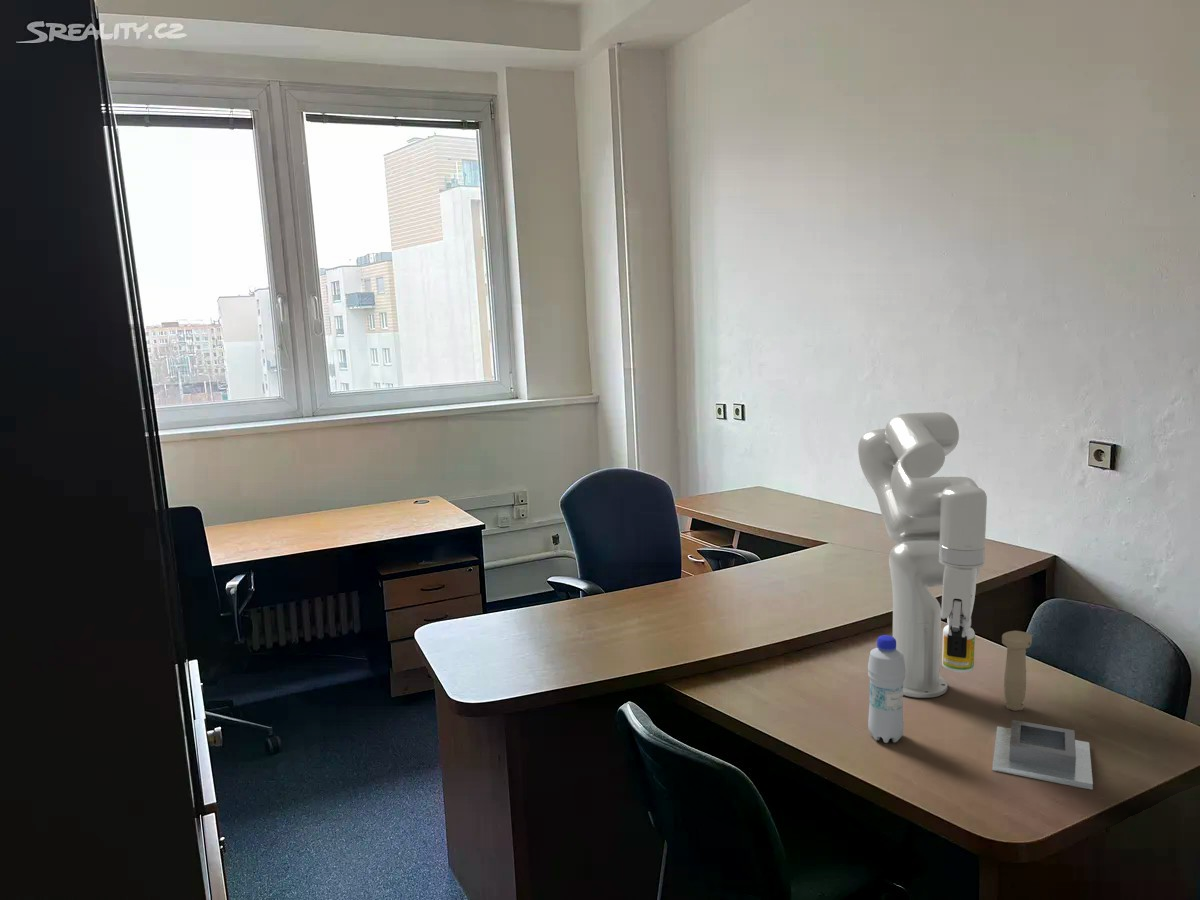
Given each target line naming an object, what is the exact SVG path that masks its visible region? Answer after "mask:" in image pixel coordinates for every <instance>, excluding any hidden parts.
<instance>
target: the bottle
mask: <svg viewBox="0 0 1200 900" xmlns="http://www.w3.org/2000/svg"><path fill="white" fill-rule="evenodd" d="M867 671H868V672H867V675H868V677H869V706H868V707H869V708H868V719H867V720H868V721H867V724H868V725H867V726H868V732H869V735H871V736H872V737H873V739H874V740H875V741H877V740H879V741H880V740H881V739H882V741H883V743H885V744H888V743H889V741H890V739H891V741H892V742H893V743H897V742H898V741H899V740H900V739H901V738H902V736H903V734H904V726H905V725H904V724H905V723H904V711H903V710H904V695H903V681H904V679H905V672H906V669H905V662H904V655H903V653H902V652H901V651H899V650H897V649H896V640H895V638H894V637H893V635H892V636H891V635H887V634H883V635H880V636H878V638H877V639H876V647H874V648H873V649H871V650H870V652H869V657H868V663H867Z"/></svg>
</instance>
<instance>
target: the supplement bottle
mask: <svg viewBox="0 0 1200 900" xmlns="http://www.w3.org/2000/svg"><path fill="white" fill-rule="evenodd" d="M949 618H950V615H949V616H948V618H946V619H947V621H946V623H947V625H945V626H944V627H943V629H942V647H941V649H942V650H941V665H942V667H943V668H944V669H946V670H948V671H950V672H954V673H969V672H972V671H973V669H974V665H975V640H976V639H975V638H976V632H975V631H974V628H972V627H971V626H972V617H971V618H970V620H969V621H968V622H966V635H965V636H967V652H966V658H960V657H953V656H948V655H947V635H948V634H949ZM952 618H953V615H952ZM960 619H964V616H961V618H960ZM962 625H963V623H960V626H962Z"/></svg>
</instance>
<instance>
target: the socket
mask: <svg viewBox="0 0 1200 900" xmlns="http://www.w3.org/2000/svg"><path fill="white" fill-rule="evenodd" d="M1010 727H1011V728H1009V727H1004V726H998V725H997V726H996V735H995V742H994V750H993V751H994V752H993V759H992V769H991V770H992V771H993V772H1000V773H1005V774H1011V775H1015V776H1021V777H1026V778H1031V779H1037V780H1041V781H1046V782H1051V783H1056V784H1061V785H1067V786H1070V787H1075V788H1082V789H1085V790H1086V789H1087V790H1093V789H1094V787H1093V785H1094V782H1093V772H1092V771H1093V770H1092V759H1091V758H1092V757H1091V748H1090V742H1088V741H1084V740H1077V739H1076V737H1075V734H1076V733H1075V729H1069V728H1062V727H1055V726H1051V725H1045V724H1044V725H1043V724H1041V723H1040V724H1038V723H1032V722H1028V721H1022V720H1021V721H1020V720H1015V719H1012V720H1011V726H1010Z"/></svg>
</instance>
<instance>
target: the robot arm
mask: <svg viewBox="0 0 1200 900" xmlns="http://www.w3.org/2000/svg"><path fill="white" fill-rule="evenodd" d="M959 439H960V430H959V426H958V423H957V421H956V420H955V419H954V418H953V416H952V415H950V414H949V413H946V412H938V411H937V412H934V411H933V412H909V413H900V414H898V415H896V416H895V415H894V417H892V418H891V419H890V420H888V423H886V425H885V428H880V429H874V430H870V431H868V432H866V433H864V434H863V435H862V436H861V437H860V439H859V442H858V446H857V447H858V448H857V449H858V452H857V453H858V460H859V465H860V468H861V471H862V473H863V475H864V477H865V479H866V480H867V483H868V484H869V486H870V487H871V489H872V490H873V492H874V494H875V496H876V499H877V502H878V506H879V508H880V509H879V510H880V512H881V516H882V520H883V523H884V526H885V529H886V530H885V531H886V532H887V535H888V537H889V539H890V540H891V541H893V542H894V543H896V544H895V545H894V546H893V547H891V550H890V551H889V555H888V566H889V574H890V578H891V588H892V589H891V590H892V637H894V638H895V640H896V649H897V650H899V651H901V652H902V653H903V655H904V662H905V669H906V672H905V679H904V681H903V696H906V697H911V698H916V699H917V698H919V699H927V698H936V697H940V696H942V695H944V694H945V693H946V692H947V691H948V682H947V681H946V679H945V678H943V676H941V675H940V673H941V639H942V638H941V636H942V634H941V630H942V620H945V619H947V618H948V616H949V615H950V618H949V634H948V635H947V655H948V656H953V657H960V658H966V652H967V636H965V635H966V622H968V621H969V620H970V618H971V619H972V613H973V609H974V604H975V599H976V597H975V596H976V588H977V580H978V578H979V576H980V571H981V570H980V569H981V568H982V567H984V566H985V554H986V530H987V529H986V527H987V510H988V509H987V508H988V507H987V506H988V505H987V504H988V499H987V497H988V496H987V493H986V492H985V490H984V489H982V488H981V487H979V486H978V485H977V483H976V481H975V480H973V479H972V478H970V477H967V476H934V475H936V474H937V473H938V472H940V470H941V469H942V468H943V466H944V465H945V464H944V463H945V459H946V456H948V455H950V453H952V452H953V451H954V450H955V449H956V447H957V445H958V443H959V441H960V440H959ZM939 587H942V588H941V589H942V592H941V595H942V596H941V604H940V602H939V601H938V599H937V597H935V595H933V594H932V593H931V592H930V588H939ZM952 615H953V618H952ZM961 616H964V619H960V618H961ZM960 623H963V625H962V626H960Z"/></svg>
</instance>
